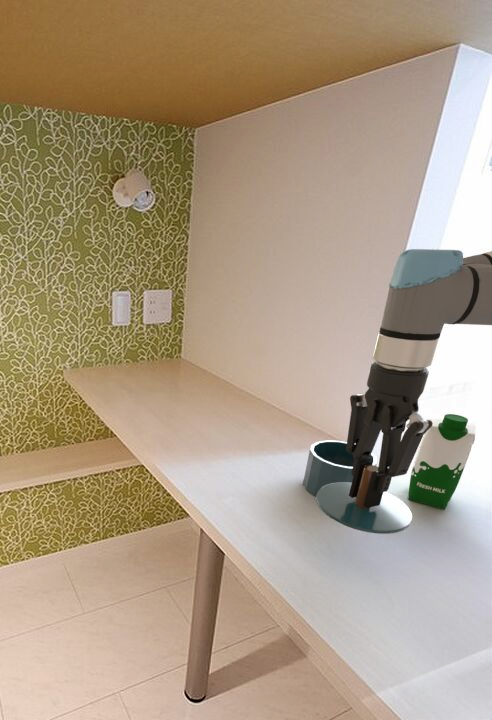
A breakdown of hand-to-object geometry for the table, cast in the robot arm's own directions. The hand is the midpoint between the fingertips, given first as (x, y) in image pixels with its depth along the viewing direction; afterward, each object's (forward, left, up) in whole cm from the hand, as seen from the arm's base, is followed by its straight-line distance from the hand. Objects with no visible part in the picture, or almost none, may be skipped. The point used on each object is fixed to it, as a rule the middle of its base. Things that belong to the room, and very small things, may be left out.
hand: (364, 500), depth 74 cm
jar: (+19, -14, -12) cm, 26 cm away
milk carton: (+10, -32, -12) cm, 36 cm away
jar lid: (0, 0, -1) cm, 1 cm away
